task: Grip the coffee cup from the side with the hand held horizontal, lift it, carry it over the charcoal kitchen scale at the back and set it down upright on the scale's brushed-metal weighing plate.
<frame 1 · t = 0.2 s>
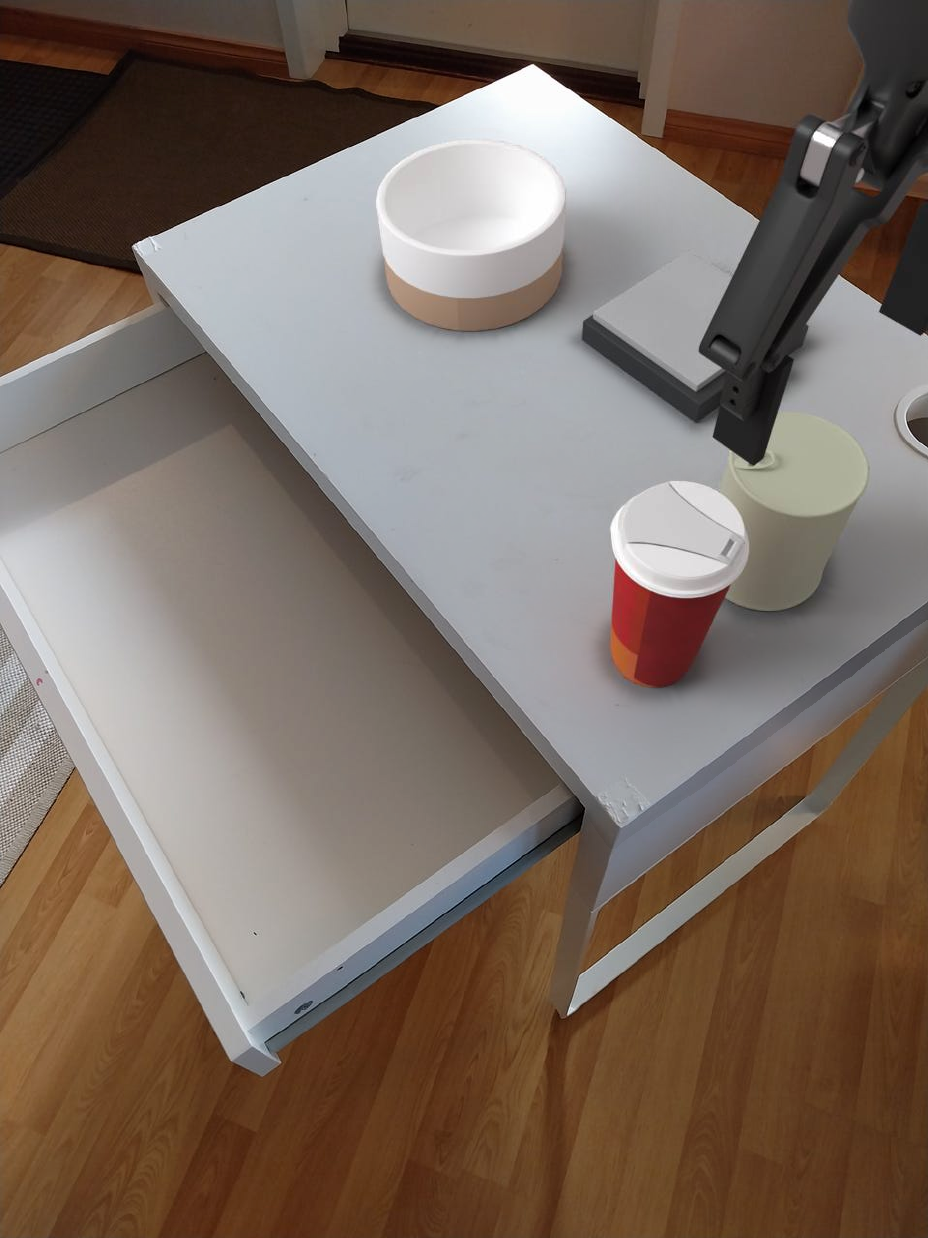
hand: (823, 382, 50), 24 cm above the table, tool pointing down, fingers open, 13 cm apart
scale: (691, 342, 85), on the table
can: (759, 562, 72), on the table
bowl: (473, 273, 92), on the table
coffee cup: (650, 652, 69), on the table
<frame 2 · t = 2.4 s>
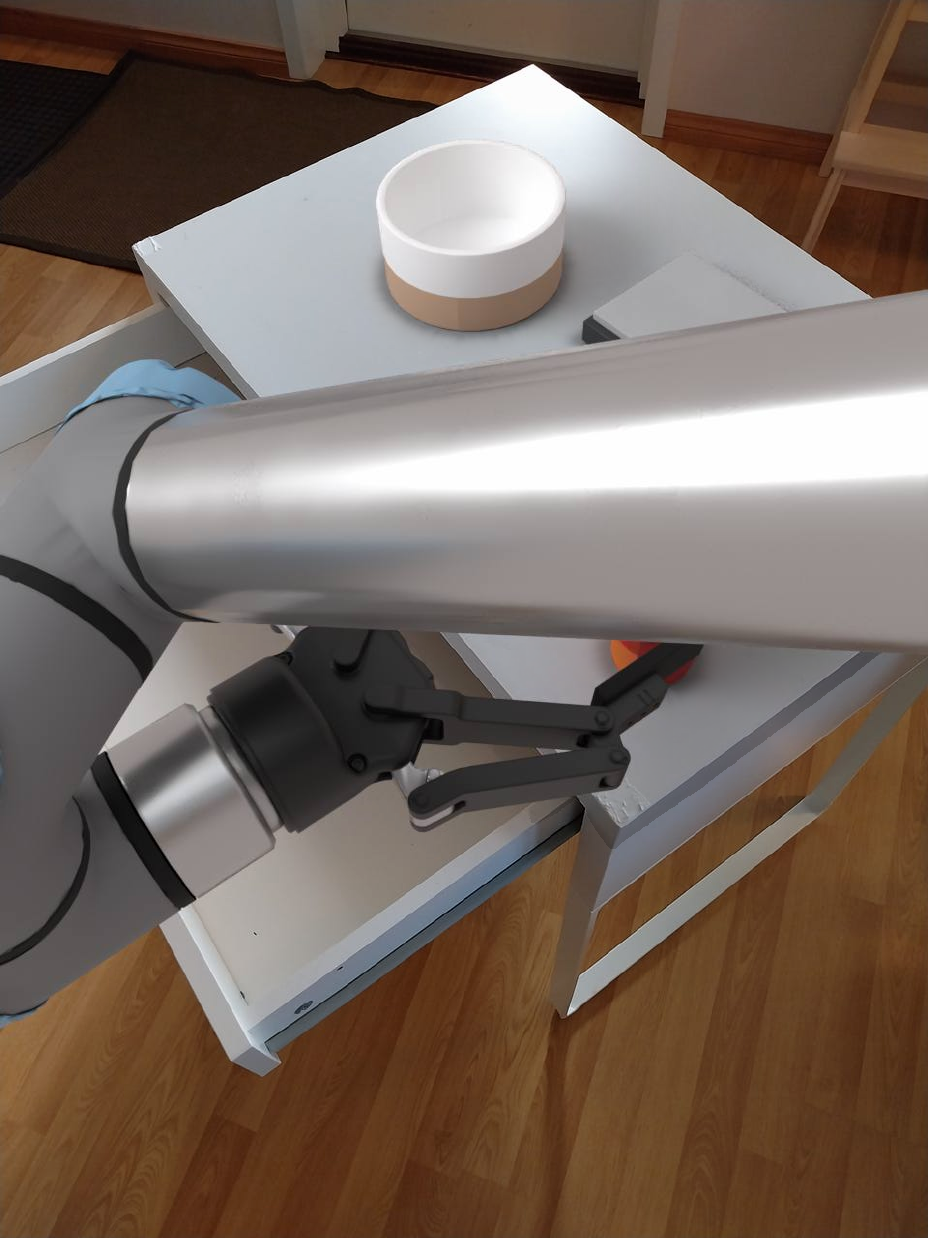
hand: (609, 541, 48), 21 cm above the table, tool horizontal, fingers open, 13 cm apart
nothing on the table moved.
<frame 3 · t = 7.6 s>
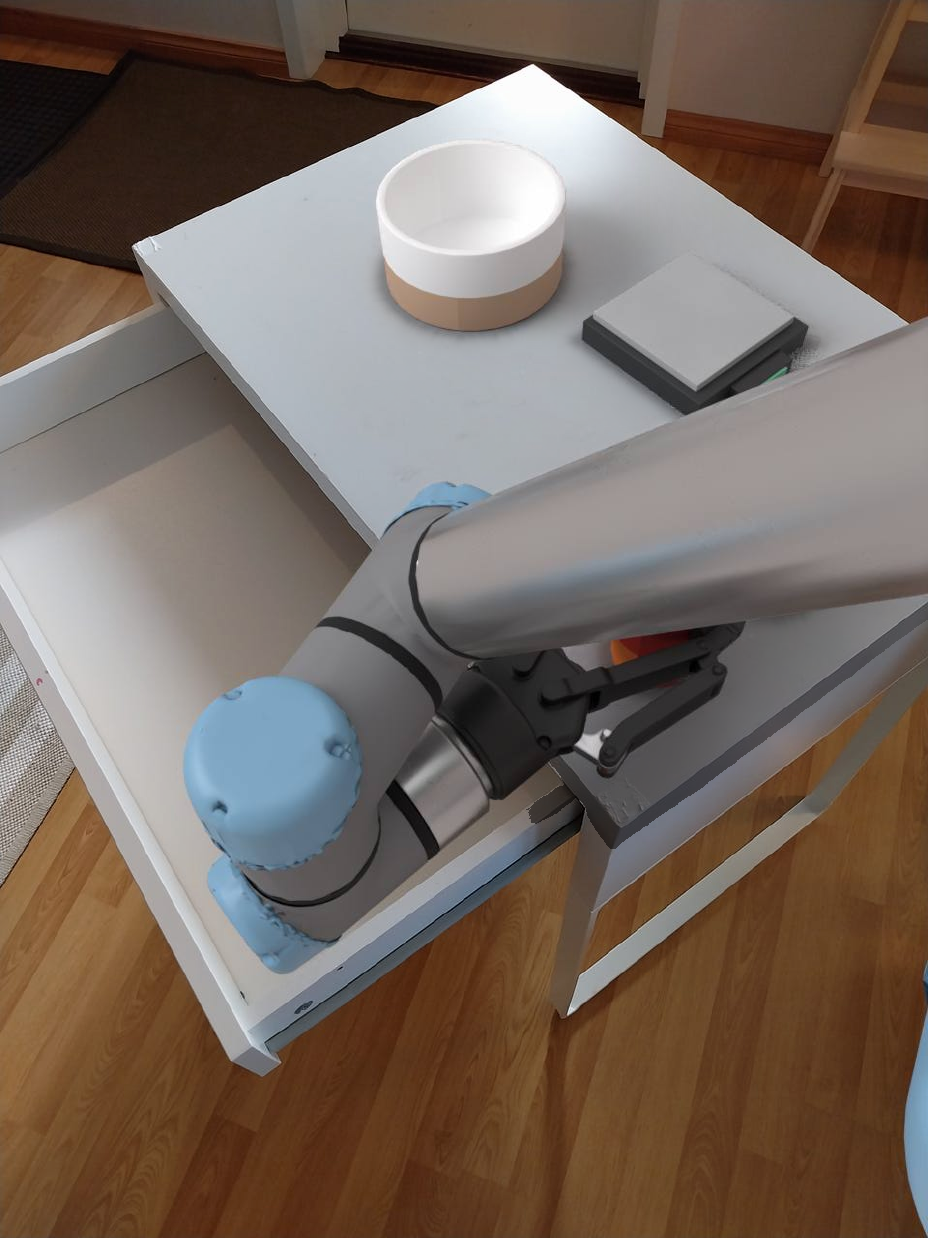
hand: (718, 546, 63), 8 cm above the table, tool horizontal, fingers closed on coffee cup, 7 cm apart
coffee cup: (650, 652, 69), on the table, touching gripper
everything else where it was.
when the fingers open (11 cm above the table, at t = 19.4 s): coffee cup stays where it is, resting on scale.
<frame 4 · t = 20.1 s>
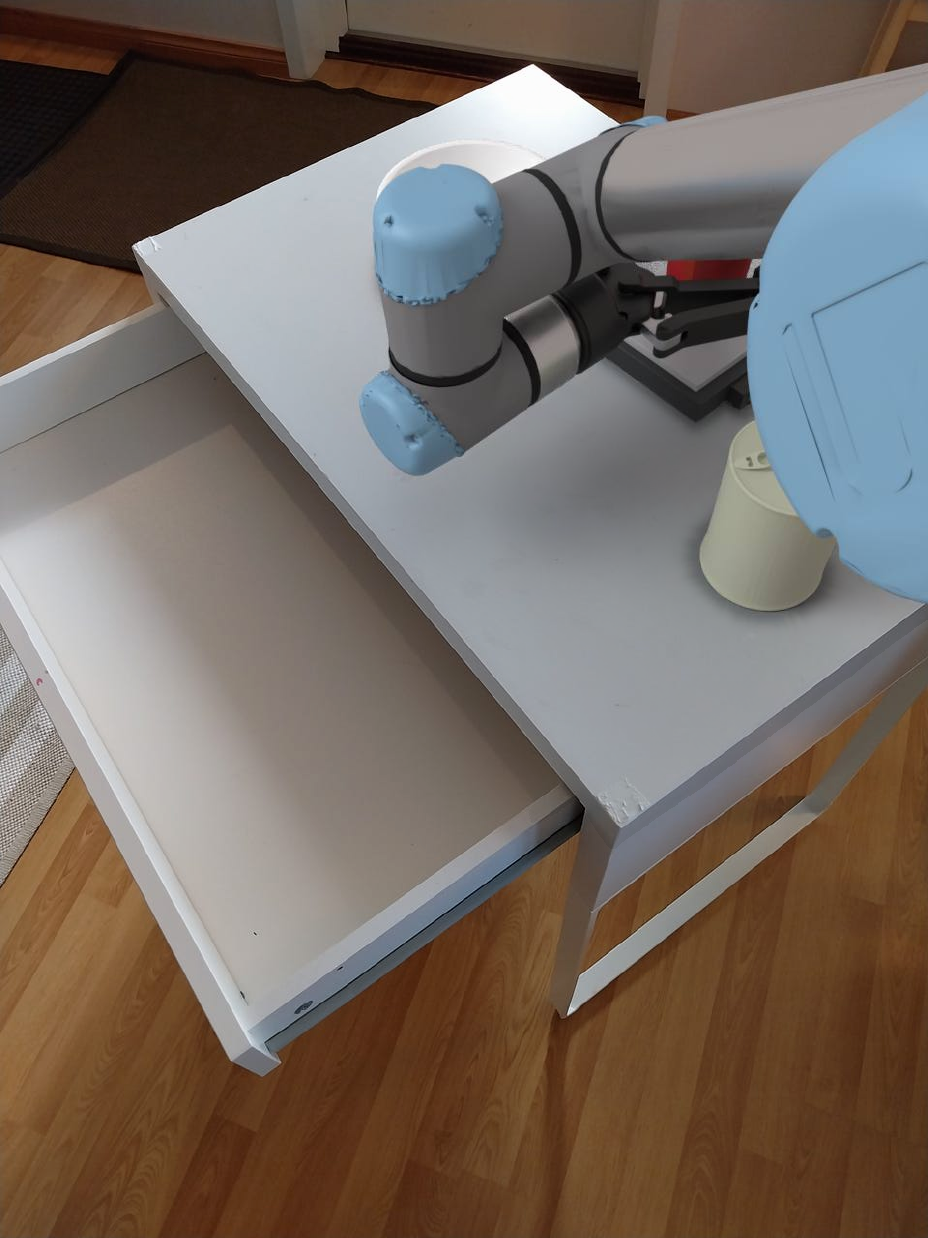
hand: (743, 208, 76), 12 cm above the table, tool horizontal, fingers open, 13 cm apart
coffee cup: (695, 317, 83), point 3 cm above the table, touching scale
everything else where it was.
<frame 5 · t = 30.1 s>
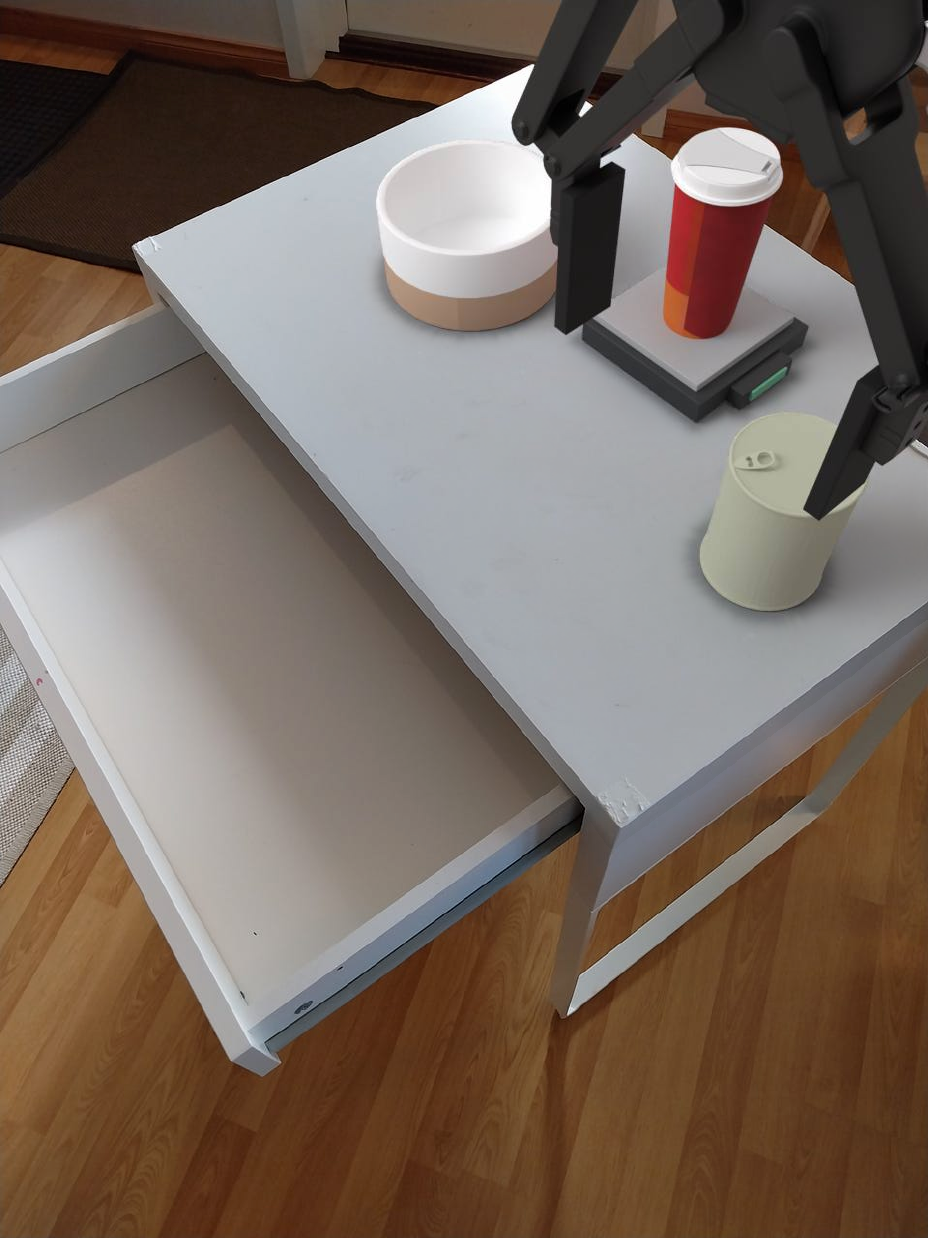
hand: (698, 400, 38), 32 cm above the table, tool pointing down, fingers open, 13 cm apart
nothing on the table moved.
at the end: coffee cup inside the target area on the scale (0.0 cm from its centre), point 2.8 cm above the scale's base; coffee cup tilted 0°; the gripper is holding nothing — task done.
